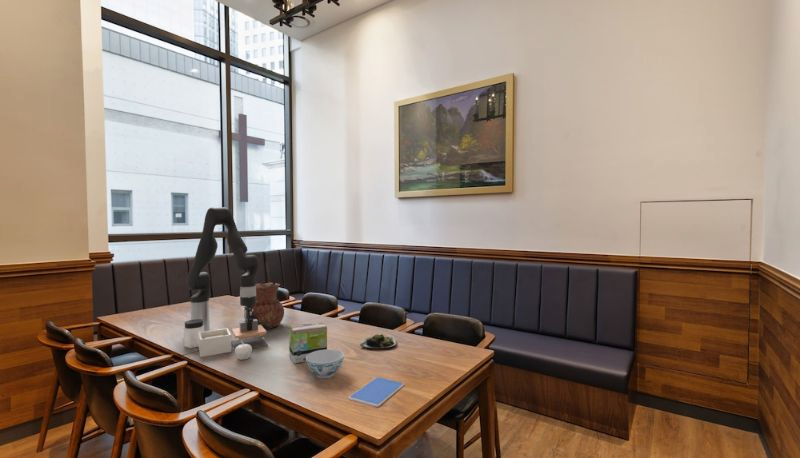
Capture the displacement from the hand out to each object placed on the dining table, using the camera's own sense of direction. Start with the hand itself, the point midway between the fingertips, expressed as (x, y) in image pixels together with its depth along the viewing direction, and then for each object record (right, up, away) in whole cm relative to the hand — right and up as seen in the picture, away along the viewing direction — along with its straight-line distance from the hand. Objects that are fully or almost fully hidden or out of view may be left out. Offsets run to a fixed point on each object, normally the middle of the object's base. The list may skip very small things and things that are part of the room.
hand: (248, 328), depth 186 cm
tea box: (+34, -8, -19) cm, 40 cm away
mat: (0, -8, 0) cm, 8 cm away
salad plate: (+65, -8, -2) cm, 66 cm away
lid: (0, -3, 0) cm, 3 cm away
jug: (-3, -7, +31) cm, 32 cm away
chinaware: (+46, -9, -37) cm, 60 cm away
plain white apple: (+5, -8, -19) cm, 21 cm away
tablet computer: (+68, -9, -52) cm, 86 cm away
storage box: (-13, -8, -8) cm, 17 cm away
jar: (-27, -8, 0) cm, 28 cm away
